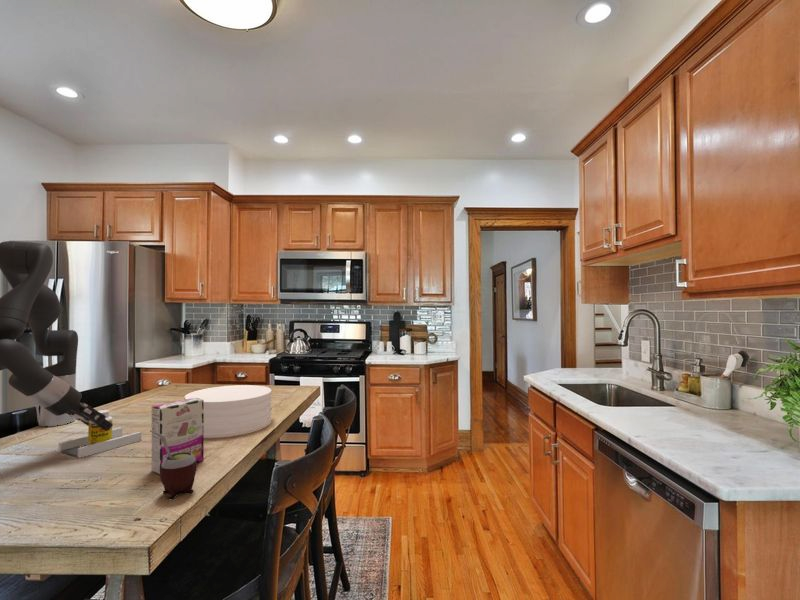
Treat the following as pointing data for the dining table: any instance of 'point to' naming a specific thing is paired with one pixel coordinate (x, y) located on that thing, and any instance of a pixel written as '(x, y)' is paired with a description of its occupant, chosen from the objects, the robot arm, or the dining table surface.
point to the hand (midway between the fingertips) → (101, 426)
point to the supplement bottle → (99, 430)
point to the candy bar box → (178, 430)
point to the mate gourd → (177, 471)
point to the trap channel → (97, 444)
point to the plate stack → (234, 409)
